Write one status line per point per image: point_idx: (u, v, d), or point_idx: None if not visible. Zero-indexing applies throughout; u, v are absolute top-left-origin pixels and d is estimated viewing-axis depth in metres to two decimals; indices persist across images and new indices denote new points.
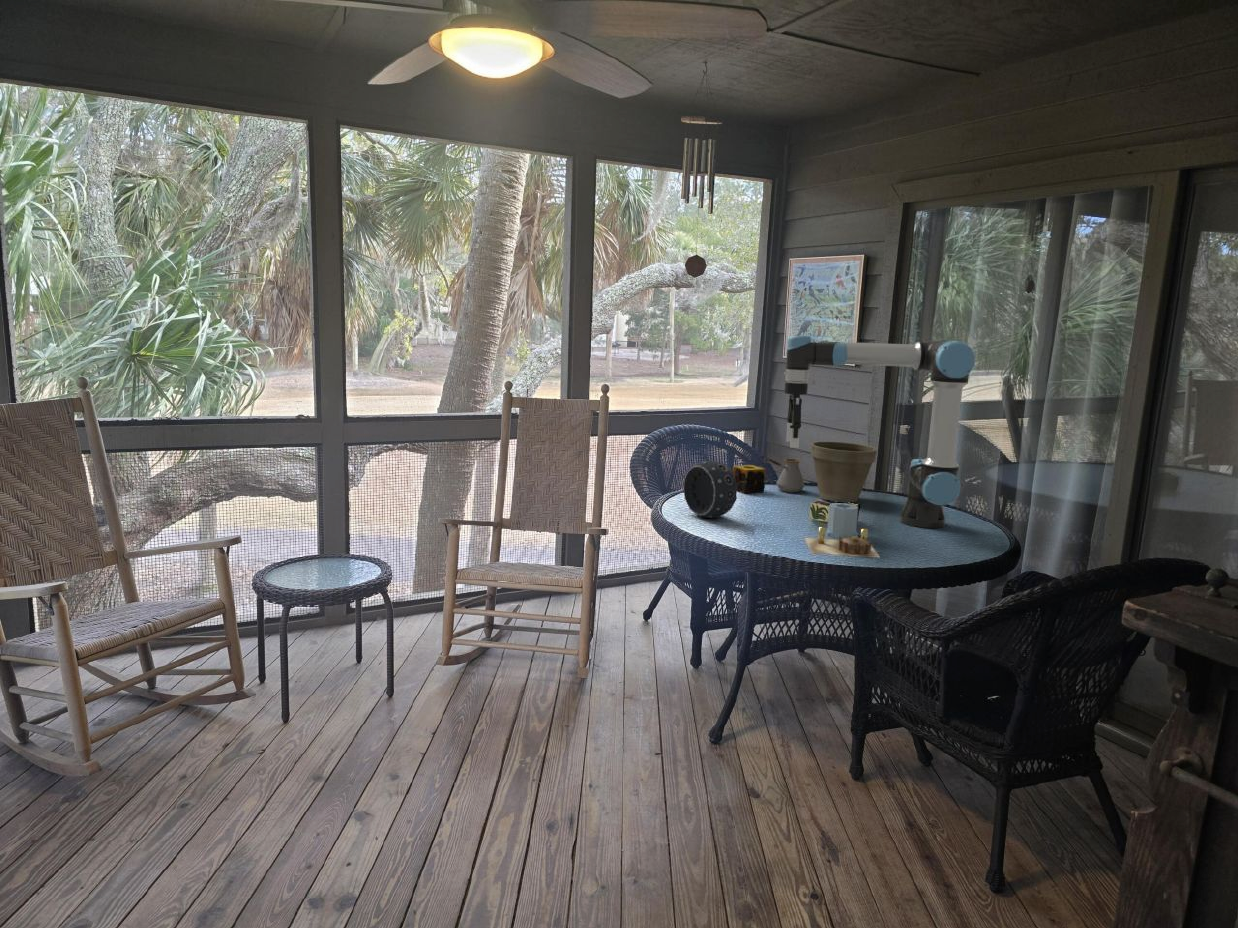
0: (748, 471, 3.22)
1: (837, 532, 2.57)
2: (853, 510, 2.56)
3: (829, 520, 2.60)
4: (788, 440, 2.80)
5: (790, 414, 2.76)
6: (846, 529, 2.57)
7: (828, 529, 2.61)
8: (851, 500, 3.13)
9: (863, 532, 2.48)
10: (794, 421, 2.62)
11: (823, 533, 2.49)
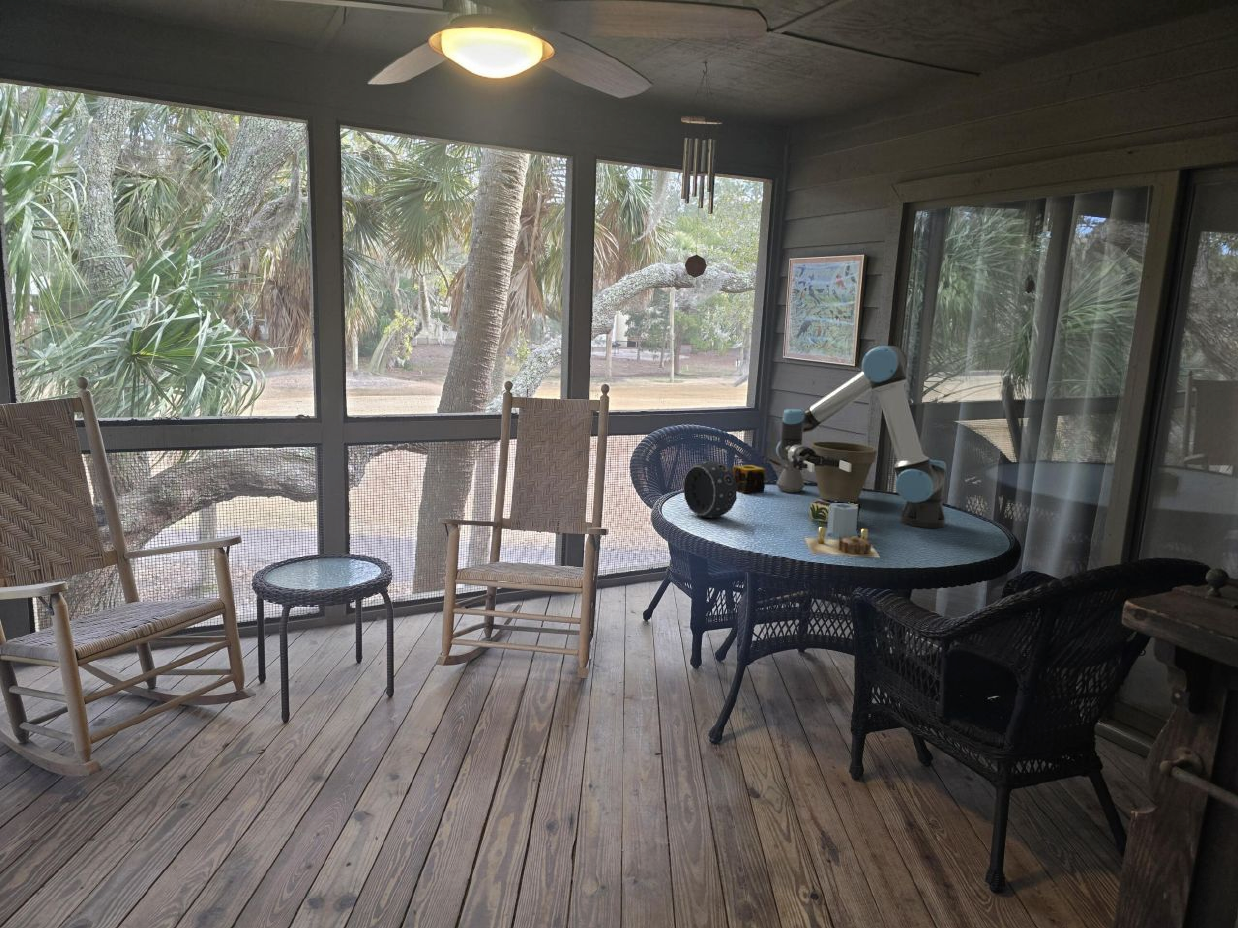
0: (748, 471, 3.22)
1: (837, 532, 2.57)
2: (853, 510, 2.56)
3: (829, 520, 2.60)
4: (848, 469, 2.69)
5: (830, 464, 2.77)
6: (846, 529, 2.57)
7: (828, 529, 2.61)
8: (851, 500, 3.13)
9: (863, 532, 2.48)
10: None
11: (823, 533, 2.49)
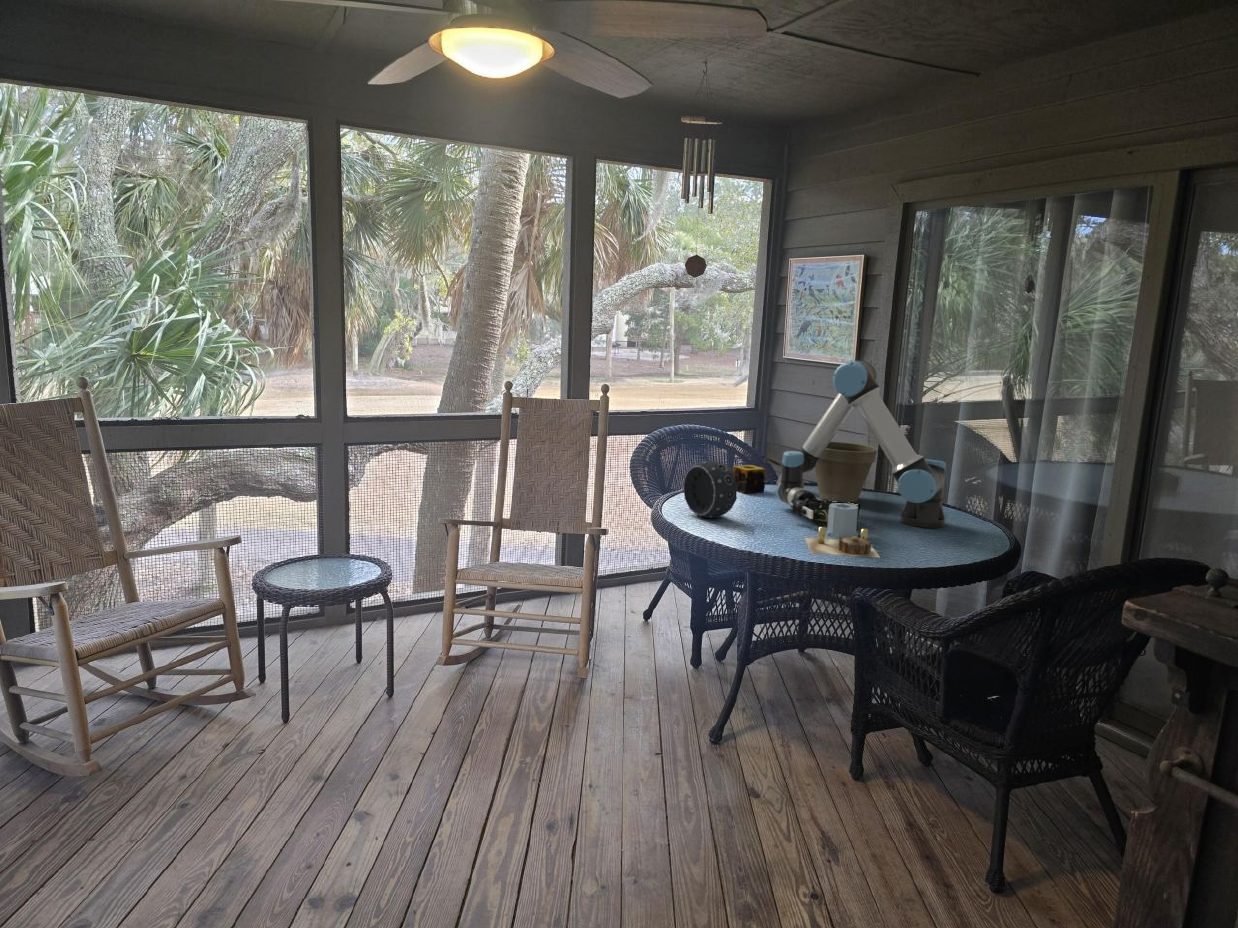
0: (748, 471, 3.22)
1: (837, 532, 2.57)
2: (853, 510, 2.56)
3: (829, 520, 2.60)
4: None
5: None
6: (846, 529, 2.57)
7: (828, 529, 2.61)
8: (851, 500, 3.13)
9: (863, 532, 2.48)
10: None
11: (823, 533, 2.49)
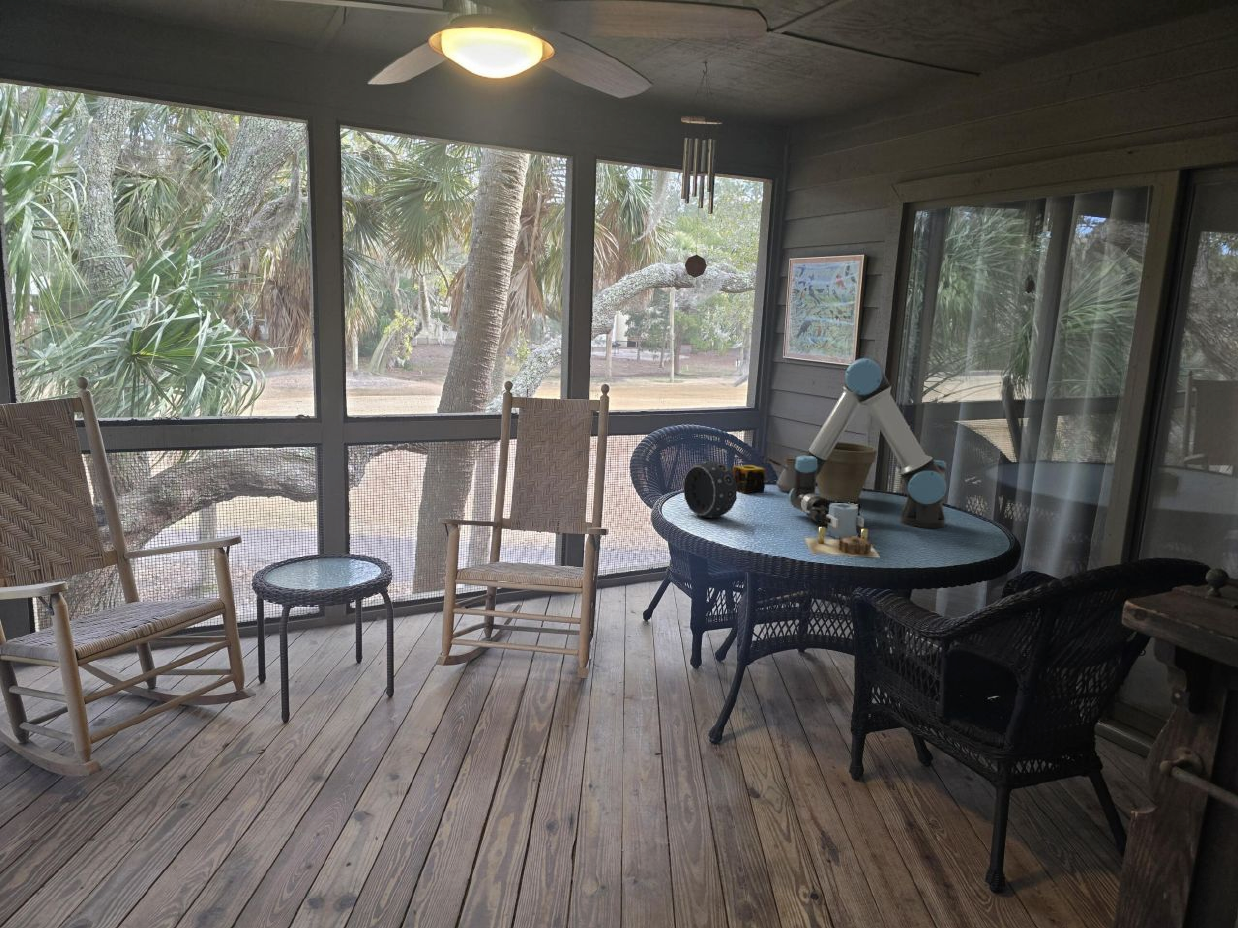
0: (748, 471, 3.22)
1: (837, 532, 2.57)
2: (853, 510, 2.56)
3: None
4: (860, 524, 2.57)
5: None
6: (846, 529, 2.57)
7: (828, 529, 2.61)
8: (851, 500, 3.13)
9: (863, 532, 2.48)
10: (814, 519, 2.63)
11: (823, 533, 2.49)
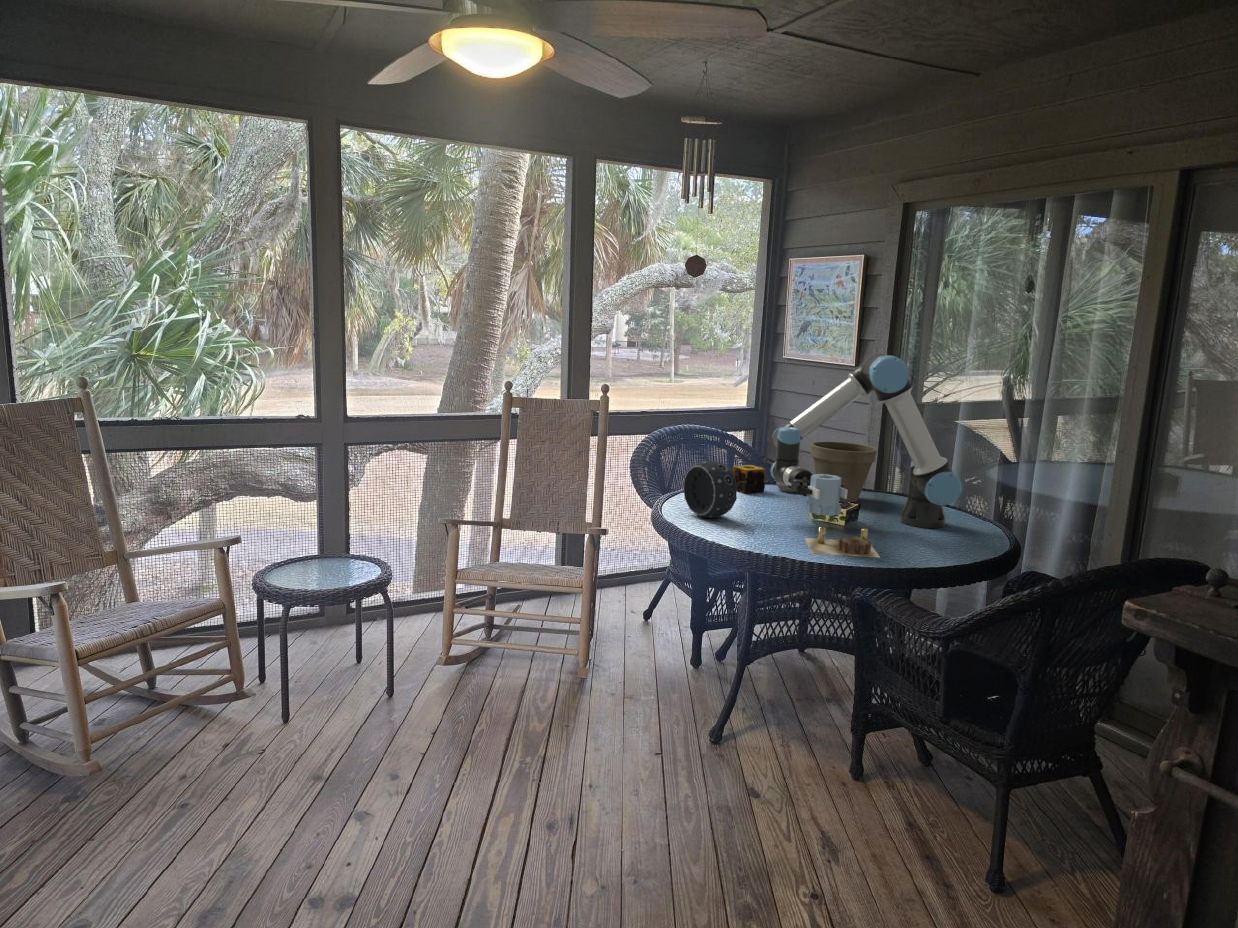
0: (748, 471, 3.22)
1: (819, 504, 2.45)
2: (836, 481, 2.43)
3: None
4: (844, 496, 2.44)
5: None
6: (828, 501, 2.44)
7: (810, 501, 2.48)
8: (851, 500, 3.13)
9: (863, 532, 2.48)
10: (795, 491, 2.50)
11: (823, 533, 2.49)
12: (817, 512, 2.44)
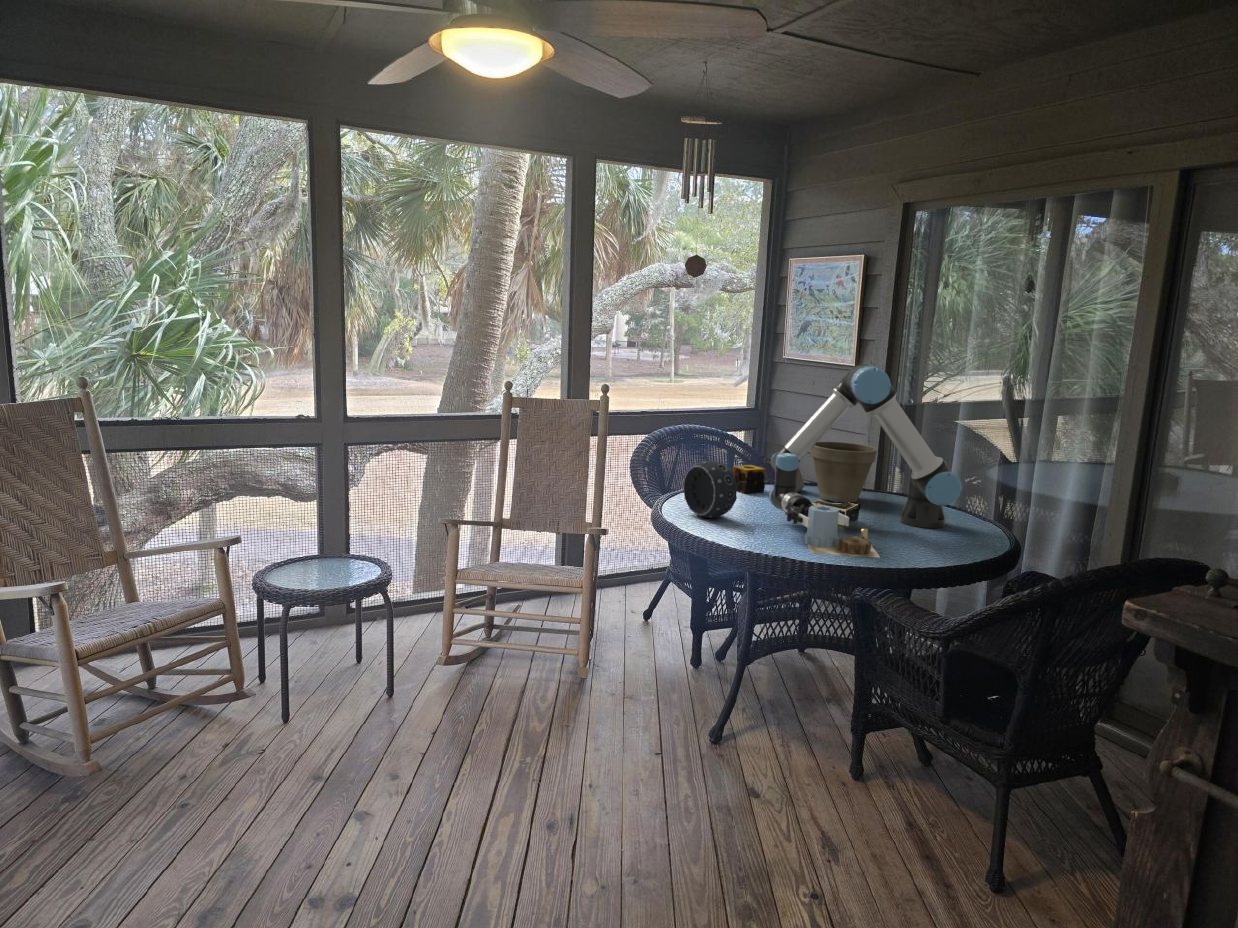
0: (748, 471, 3.22)
1: (817, 536, 2.46)
2: (833, 513, 2.45)
3: None
4: (845, 523, 2.48)
5: None
6: (826, 533, 2.45)
7: (808, 533, 2.50)
8: (851, 500, 3.13)
9: (863, 532, 2.48)
10: None
11: None
12: (815, 544, 2.46)
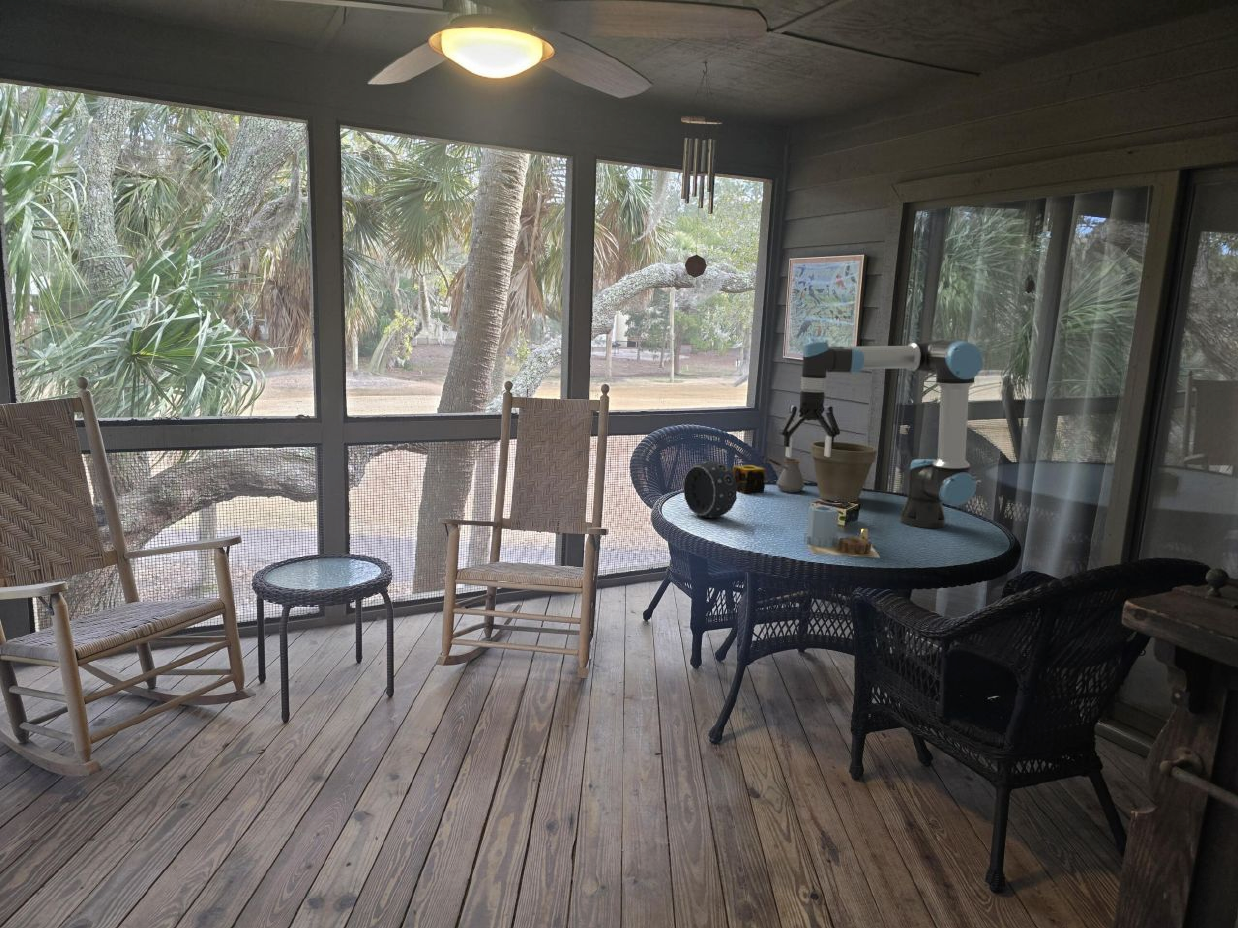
0: (748, 471, 3.22)
1: (817, 536, 2.46)
2: (833, 513, 2.45)
3: (809, 523, 2.49)
4: (825, 454, 2.60)
5: (822, 426, 2.58)
6: (826, 533, 2.45)
7: (808, 533, 2.50)
8: (851, 500, 3.13)
9: (863, 532, 2.48)
10: (781, 428, 2.55)
11: None
12: (815, 544, 2.46)
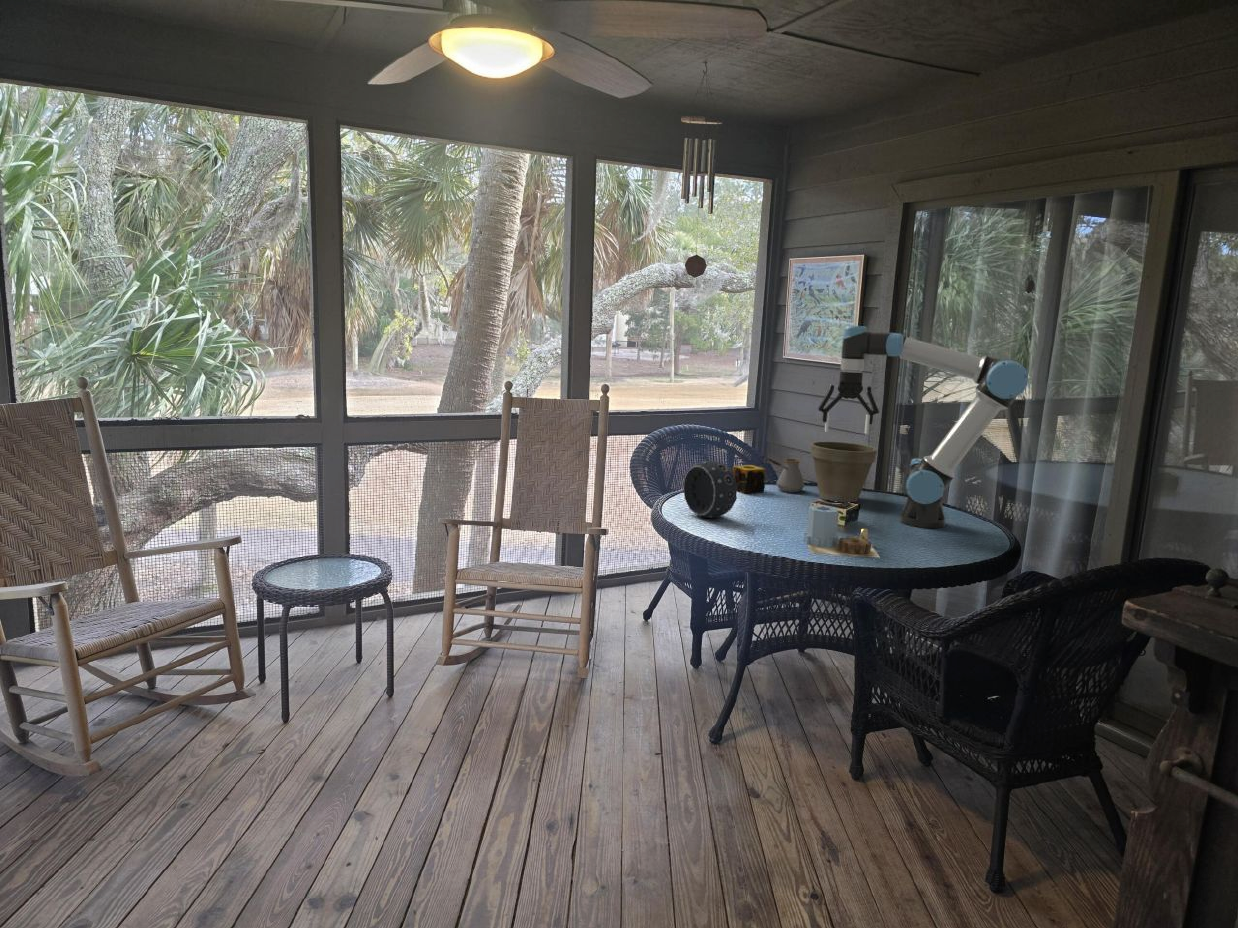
0: (748, 471, 3.22)
1: (817, 536, 2.46)
2: (833, 513, 2.45)
3: (809, 523, 2.49)
4: None
5: None
6: (826, 533, 2.45)
7: (808, 533, 2.50)
8: (851, 500, 3.13)
9: (863, 532, 2.48)
10: None
11: None
12: (815, 544, 2.46)
